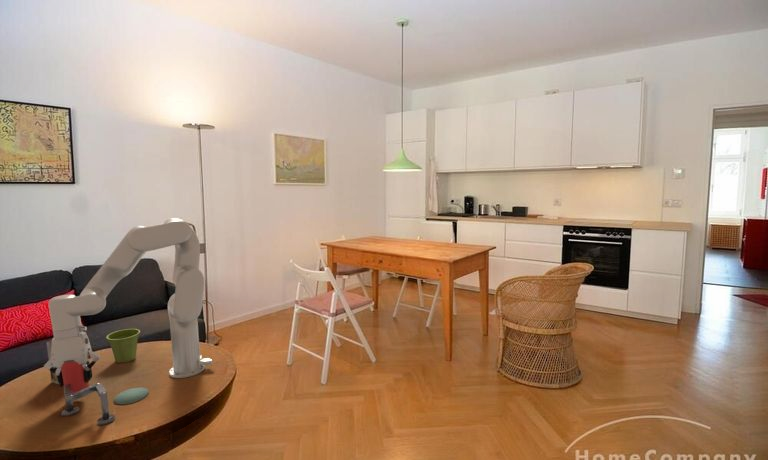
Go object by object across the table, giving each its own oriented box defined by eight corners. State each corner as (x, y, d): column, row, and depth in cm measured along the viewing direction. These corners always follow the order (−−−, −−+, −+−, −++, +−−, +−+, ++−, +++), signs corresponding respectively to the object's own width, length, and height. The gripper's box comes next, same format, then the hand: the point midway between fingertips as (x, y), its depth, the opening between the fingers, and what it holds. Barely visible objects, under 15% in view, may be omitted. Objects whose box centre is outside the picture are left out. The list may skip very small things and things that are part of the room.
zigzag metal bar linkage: (126, 401, 134) (124, 374, 133) (111, 423, 121) (109, 394, 120) (65, 410, 129) (62, 382, 128) (43, 434, 116) (40, 404, 115)
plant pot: (101, 365, 162) (98, 338, 161) (124, 353, 174) (121, 328, 172) (127, 366, 160) (125, 339, 159) (148, 354, 172) (146, 329, 171)
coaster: (151, 387, 143) (151, 385, 143) (143, 401, 134) (143, 399, 134) (120, 391, 140) (120, 390, 140) (109, 406, 131) (109, 404, 131)
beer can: (76, 397, 131) (70, 362, 130) (60, 395, 133) (54, 361, 131) (94, 386, 138) (89, 353, 136) (78, 385, 139) (73, 352, 137)
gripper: (102, 324, 138) (109, 372, 141) (43, 332, 133) (51, 382, 136) (93, 332, 131) (101, 383, 134) (30, 340, 126) (39, 393, 129)
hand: (76, 382), depth 135 cm, fingers closed on beer can, 6 cm apart
